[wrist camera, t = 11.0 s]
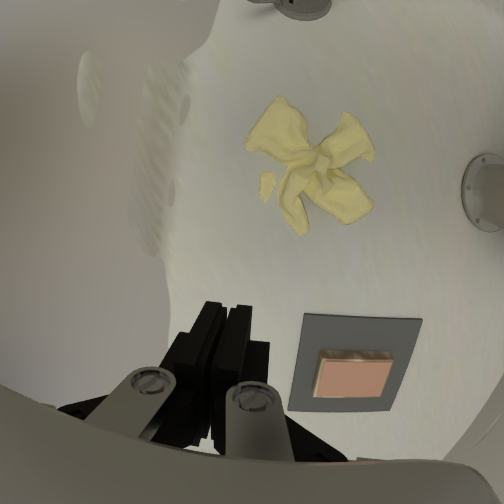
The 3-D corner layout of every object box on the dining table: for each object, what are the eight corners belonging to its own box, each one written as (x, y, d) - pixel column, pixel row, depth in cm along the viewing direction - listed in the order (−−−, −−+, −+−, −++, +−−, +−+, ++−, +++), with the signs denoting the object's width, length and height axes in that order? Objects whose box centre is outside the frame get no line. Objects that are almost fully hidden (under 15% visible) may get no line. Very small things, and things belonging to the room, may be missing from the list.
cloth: (242, 97, 39) (236, 85, 33) (374, 102, 37) (389, 92, 31) (245, 254, 44) (239, 267, 38) (372, 255, 43) (385, 268, 37)
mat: (421, 318, 44) (422, 319, 43) (389, 408, 49) (389, 410, 49) (304, 313, 45) (304, 314, 45) (287, 409, 50) (287, 410, 50)
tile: (320, 349, 46) (389, 351, 45) (311, 387, 48) (377, 388, 47) (322, 359, 43) (394, 360, 43) (313, 397, 46) (380, 397, 45)
